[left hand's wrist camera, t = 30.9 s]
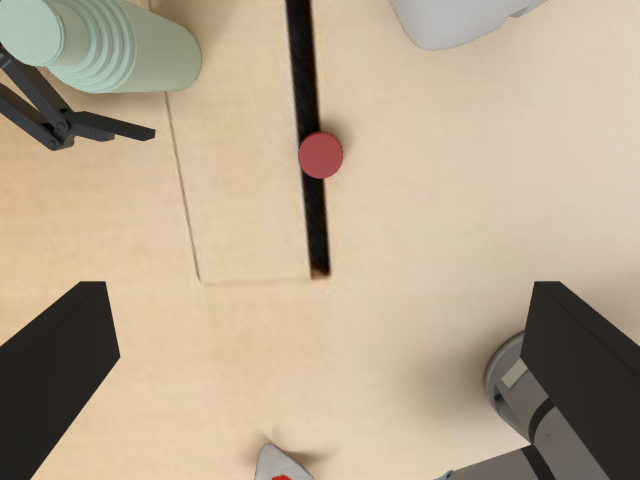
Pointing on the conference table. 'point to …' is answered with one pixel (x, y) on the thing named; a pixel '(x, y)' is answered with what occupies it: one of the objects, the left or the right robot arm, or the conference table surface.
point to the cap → (320, 154)
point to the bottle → (101, 44)
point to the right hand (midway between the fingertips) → (159, 57)
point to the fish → (279, 466)
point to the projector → (455, 19)
